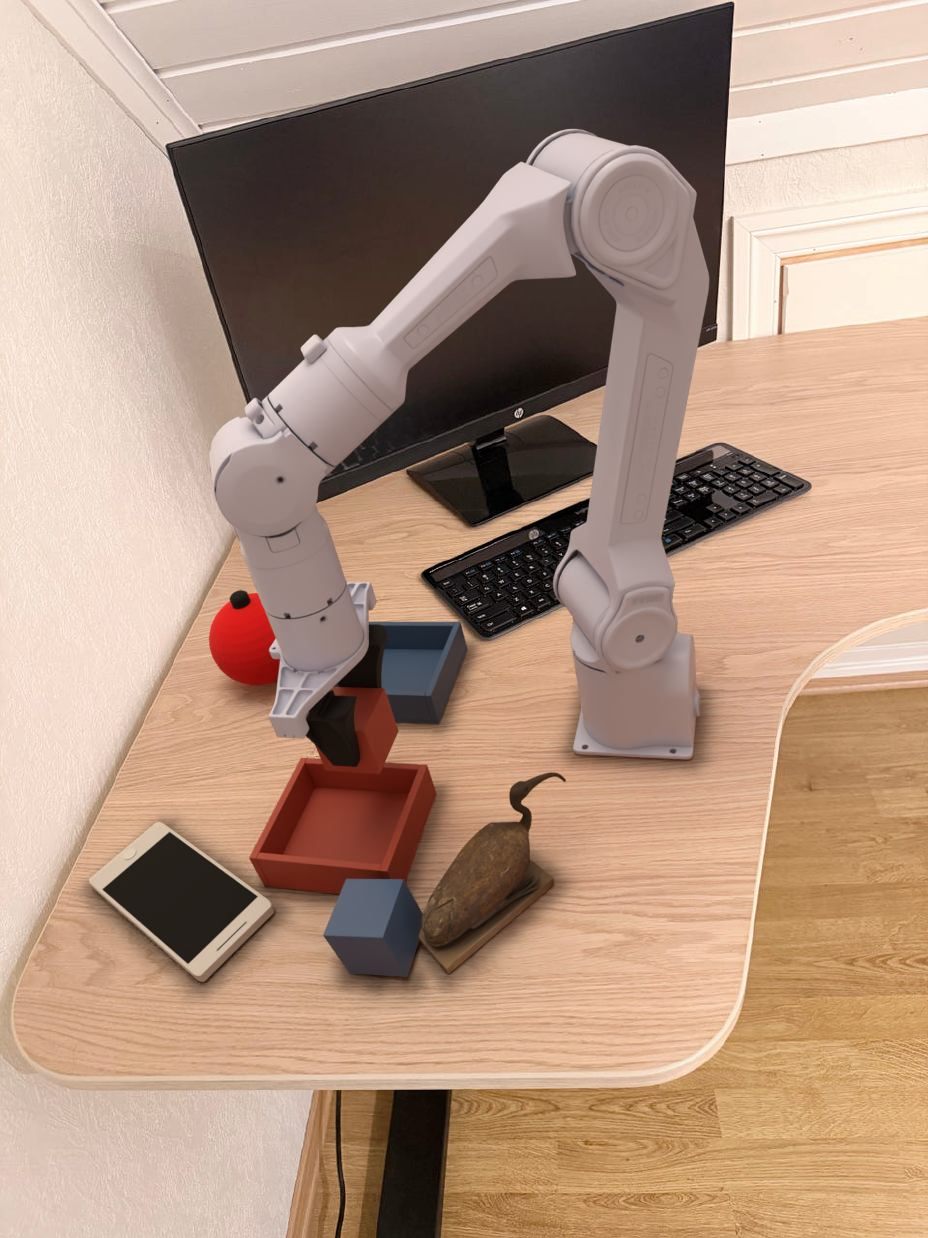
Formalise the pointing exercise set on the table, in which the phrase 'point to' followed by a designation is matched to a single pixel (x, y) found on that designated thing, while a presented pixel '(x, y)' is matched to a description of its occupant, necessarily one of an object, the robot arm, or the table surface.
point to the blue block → (375, 927)
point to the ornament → (244, 641)
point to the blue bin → (421, 668)
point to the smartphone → (182, 899)
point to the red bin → (344, 826)
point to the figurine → (485, 885)
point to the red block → (368, 729)
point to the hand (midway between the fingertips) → (358, 737)
